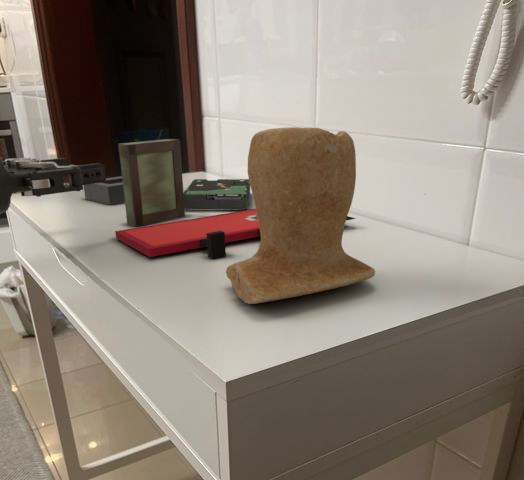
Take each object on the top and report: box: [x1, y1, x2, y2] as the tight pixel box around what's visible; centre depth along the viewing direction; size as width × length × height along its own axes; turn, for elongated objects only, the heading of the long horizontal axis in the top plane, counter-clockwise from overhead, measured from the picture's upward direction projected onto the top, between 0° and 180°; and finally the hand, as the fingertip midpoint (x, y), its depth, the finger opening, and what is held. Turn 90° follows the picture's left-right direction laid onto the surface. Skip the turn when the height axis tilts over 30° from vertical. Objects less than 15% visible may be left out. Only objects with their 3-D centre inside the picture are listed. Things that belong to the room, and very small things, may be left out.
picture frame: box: [117, 138, 186, 228], centre depth 80 cm, size 9×2×11 cm, turn 137°
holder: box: [83, 175, 125, 206], centre depth 100 cm, size 8×14×3 cm, turn 137°
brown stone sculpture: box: [225, 126, 376, 305], centre depth 53 cm, size 15×12×15 cm
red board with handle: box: [114, 208, 357, 260], centre depth 74 cm, size 30×3×15 cm
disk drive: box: [183, 178, 251, 211], centre depth 94 cm, size 10×3×15 cm
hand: (85, 169), depth 72 cm, fingers open, 8 cm apart
